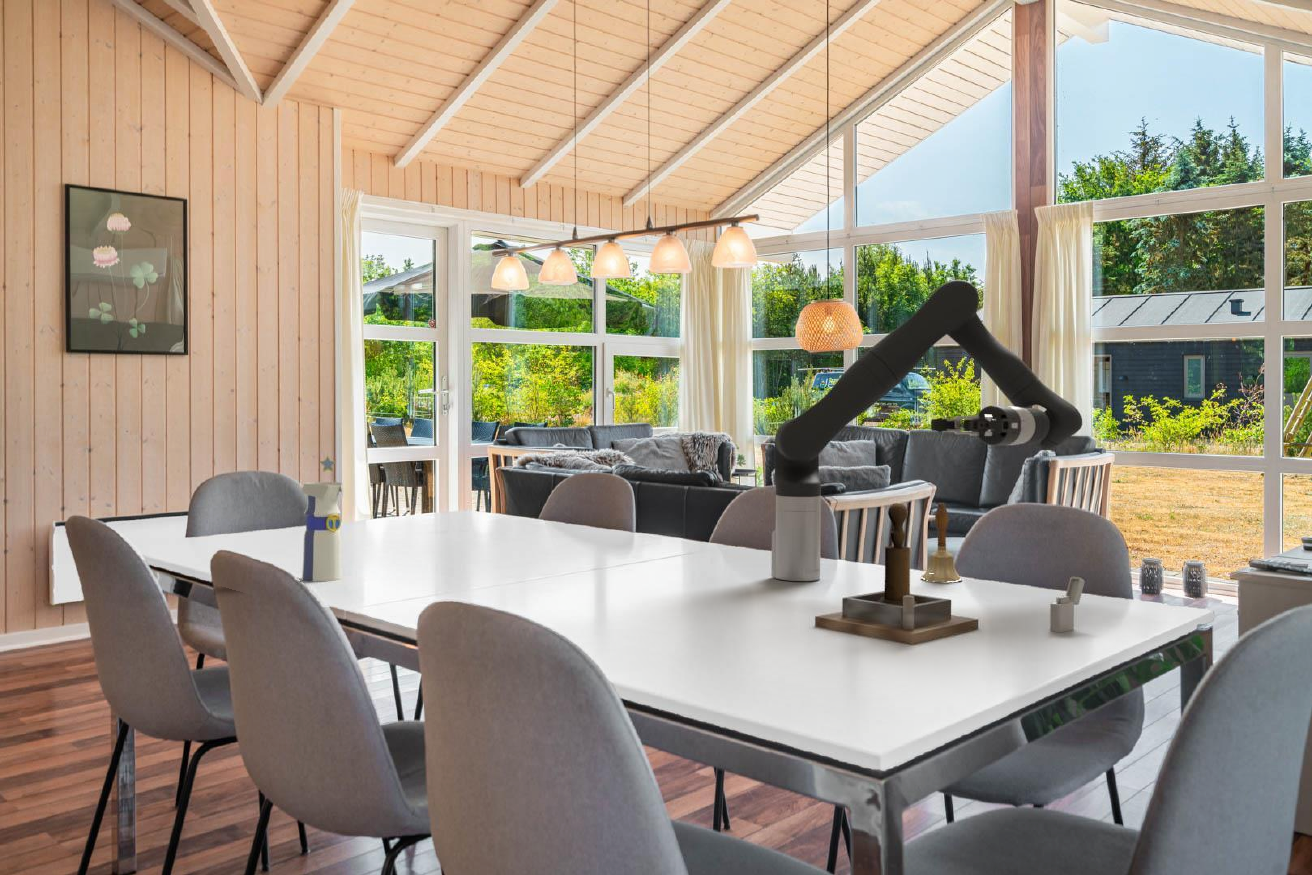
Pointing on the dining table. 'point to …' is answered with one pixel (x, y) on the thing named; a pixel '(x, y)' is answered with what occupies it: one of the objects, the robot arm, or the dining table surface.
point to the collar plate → (897, 618)
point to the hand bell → (941, 552)
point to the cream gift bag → (322, 530)
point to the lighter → (1066, 607)
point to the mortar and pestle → (897, 560)
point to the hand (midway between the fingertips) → (951, 425)
